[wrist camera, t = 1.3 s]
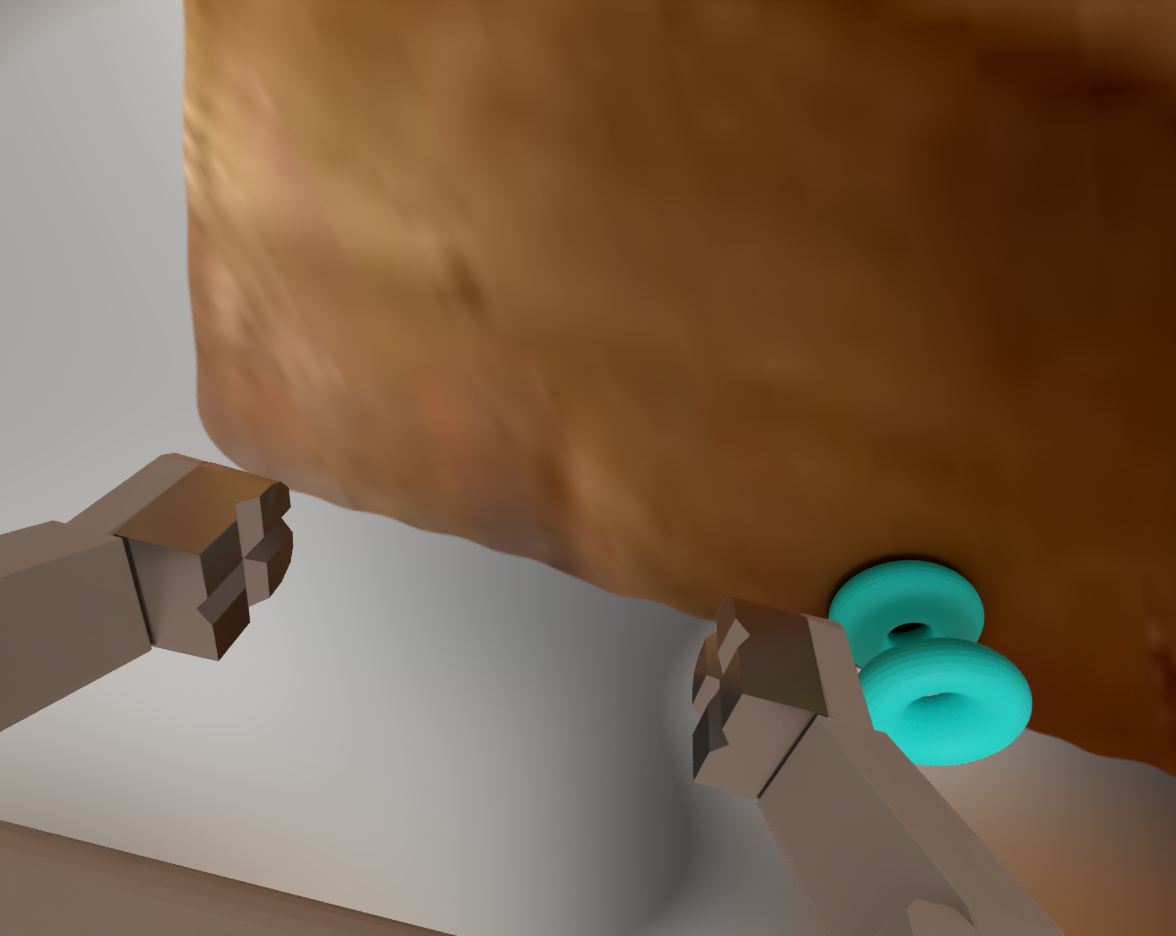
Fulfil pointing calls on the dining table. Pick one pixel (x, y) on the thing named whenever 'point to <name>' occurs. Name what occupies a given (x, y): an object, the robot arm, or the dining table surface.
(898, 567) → the donuts
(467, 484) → the dining table surface
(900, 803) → the robot arm
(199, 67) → the dining table surface
